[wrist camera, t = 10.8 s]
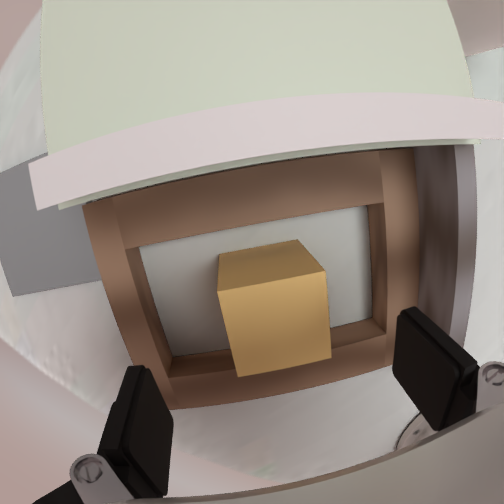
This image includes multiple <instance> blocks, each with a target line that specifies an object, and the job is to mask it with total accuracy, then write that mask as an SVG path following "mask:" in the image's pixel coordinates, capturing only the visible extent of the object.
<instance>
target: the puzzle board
mask: <svg viewBox="0 0 504 504" xmlns="http://www.w3.org/2000/svg"><path fill="white" fill-rule="evenodd" d="M393 148H394V149H382V150H371V151H360V152H350V153H341V154H332V155H324V156H316V157H308V158H300V159H293V160H286V161H280V162H273V163H267V164H261V165H255V166H249V167H243V168H237V169H232V170H226V171H221V172H216V173H211V174H206V175H201V176H196V177H191V178H186V179H181V180H177V181H172V182H168V183H163V184H159V185H155V186H151V187H146V188H142V189H138V190H134V191H130V192H126V193H122V194H118V195H115V196H111V197H107V198H103V199H100V200H97V201H94V202H91V203H88V204H85V205H82V210H83V214H84V218H85V222H86V226H87V230H88V234H89V238H90V241H91V245H92V249H93V252H94V256H95V259H96V262H97V266H98V269H99V272H100V275H101V279H102V282H103V285H104V288H105V291H106V294H107V297H108V300H109V303H110V306H111V308H112V311H113V314H114V317H115V319H116V322H117V325H118V327H119V330H120V333H121V335H122V338H123V340H124V343H125V345H126V348H127V350H128V353H129V355H130V357H131V360H132V362H133V364H134V366H135V365H144V366H145V368H149V369H150V370H151V372H152V374H153V377H154V379H155V381H156V383H157V386H158V388H159V390H160V392H161V394H162V397H163V399H164V401H165V403H166V405H167V407H168V409H169V410H175V409H186V408H196V407H204V406H213V405H220V404H227V403H234V402H241V401H247V400H253V399H258V398H264V397H269V396H275V395H280V394H285V393H289V392H294V391H299V390H303V389H307V388H312V387H316V386H320V385H324V384H328V383H332V382H336V381H339V380H343V379H347V378H350V377H354V376H357V375H361V374H364V373H367V372H371V371H374V370H377V369H380V368H383V367H386V366H389V365H392V364H393V357H394V347H395V336H396V322H397V316H398V315H400V312H401V310H403V309H407V308H410V307H413V306H415V307H417V308H418V309H419V310H420V311H422V312H423V313H424V314H425V315H426V316H427V317H429V318H430V319H431V320H432V321H433V322H434V323H435V324H437V325H438V326H439V327H440V328H441V329H442V330H443V331H444V332H446V333H447V334H448V335H449V336H450V337H451V338H452V339H453V340H454V341H455V342H457V343H458V344H459V345H460V346H461V347H462V348H463V346H464V341H465V336H466V330H467V325H468V319H469V313H470V306H471V298H472V290H473V282H474V271H475V259H476V240H477V187H476V169H475V156H474V146H473V144H453V145H426V146H408V147H393ZM363 205H367V207H368V218H369V232H370V248H371V270H372V318H369V319H365V320H362V321H358V322H354V323H350V324H346V325H342V326H338V327H334V328H330V338H331V357H332V358H329V359H325V360H321V361H316V362H312V363H308V364H303V365H299V366H294V367H290V368H285V369H280V370H275V371H270V372H265V373H259V374H254V375H248V376H242V377H238V375H237V371H236V367H235V363H234V359H233V356H232V352H231V349H226V350H220V351H214V352H207V353H201V354H194V355H186V356H179V357H172V354H171V351H170V348H169V346H168V343H167V340H166V337H165V334H164V331H163V328H162V325H161V322H160V319H159V316H158V313H157V310H156V306H155V303H154V300H153V297H152V293H151V290H150V287H149V283H148V280H147V276H146V273H145V269H144V266H143V262H142V258H141V255H140V251H139V247H140V246H144V245H149V244H154V243H159V242H164V241H169V240H174V239H179V238H184V237H189V236H194V235H199V234H204V233H209V232H215V231H220V230H225V229H230V228H236V227H241V226H247V225H252V224H257V223H263V222H269V221H274V220H280V219H285V218H291V217H297V216H303V215H308V214H314V213H320V212H326V211H332V210H338V209H344V208H350V207H356V206H363Z"/></svg>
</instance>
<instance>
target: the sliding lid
mask: <svg viewBox="0 0 504 504" xmlns="http://www.w3.org/2000/svg"><path fill="white" fill-rule="evenodd" d="M40 74H41V94H42V107H43V118H44V127H45V135H46V143H47V150H48V156H46V157H43V158H41V159H38V160H36V161H34V162H31V163H29V164H28V166H29V172H30V178H31V183H32V188H33V193H34V198H35V203H36V207H37V211H38V210H41V209H44V208H47V207H50V206H53V205H56V204H58V208H59V210H61V209H64V208H68V207H71V206H74V205H78V204H81V203H85V202H88V201H92V200H95V199H99V198H102V197H106V196H110V195H114V194H117V193H121V192H125V191H129V190H133V189H137V188H141V187H145V186H149V185H153V184H158V183H162V182H166V181H171V180H175V179H180V178H185V177H189V176H194V175H199V174H204V173H209V172H214V171H219V170H224V169H230V168H235V167H241V166H247V165H253V164H259V163H265V162H271V161H278V160H284V159H291V158H298V157H306V156H313V155H321V154H330V153H338V152H348V151H357V150H368V149H380V148H393V147H408V146H426V145H453V144H481V139H503V140H504V102H499V101H493V100H486V99H478V98H474V94H473V89H472V84H471V80H470V75H469V71H468V67H467V63H466V59H465V55H464V51H463V48H462V44H461V41H460V38H459V34H458V31H457V28H456V25H455V22H454V19H453V16H452V13H451V11H450V8H449V5H448V3H447V0H43V1H42V13H41V33H40Z"/></svg>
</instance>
